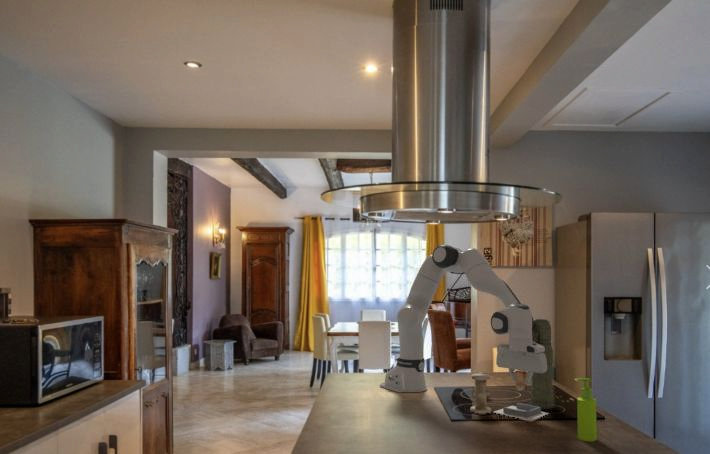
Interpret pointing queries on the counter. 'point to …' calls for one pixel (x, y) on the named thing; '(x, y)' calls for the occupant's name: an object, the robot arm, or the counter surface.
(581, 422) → the soap dispenser
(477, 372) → the push button
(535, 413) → the terminal board
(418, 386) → the robot arm
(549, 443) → the counter surface
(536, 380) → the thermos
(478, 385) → the wooden spool
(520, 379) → the copper plug
